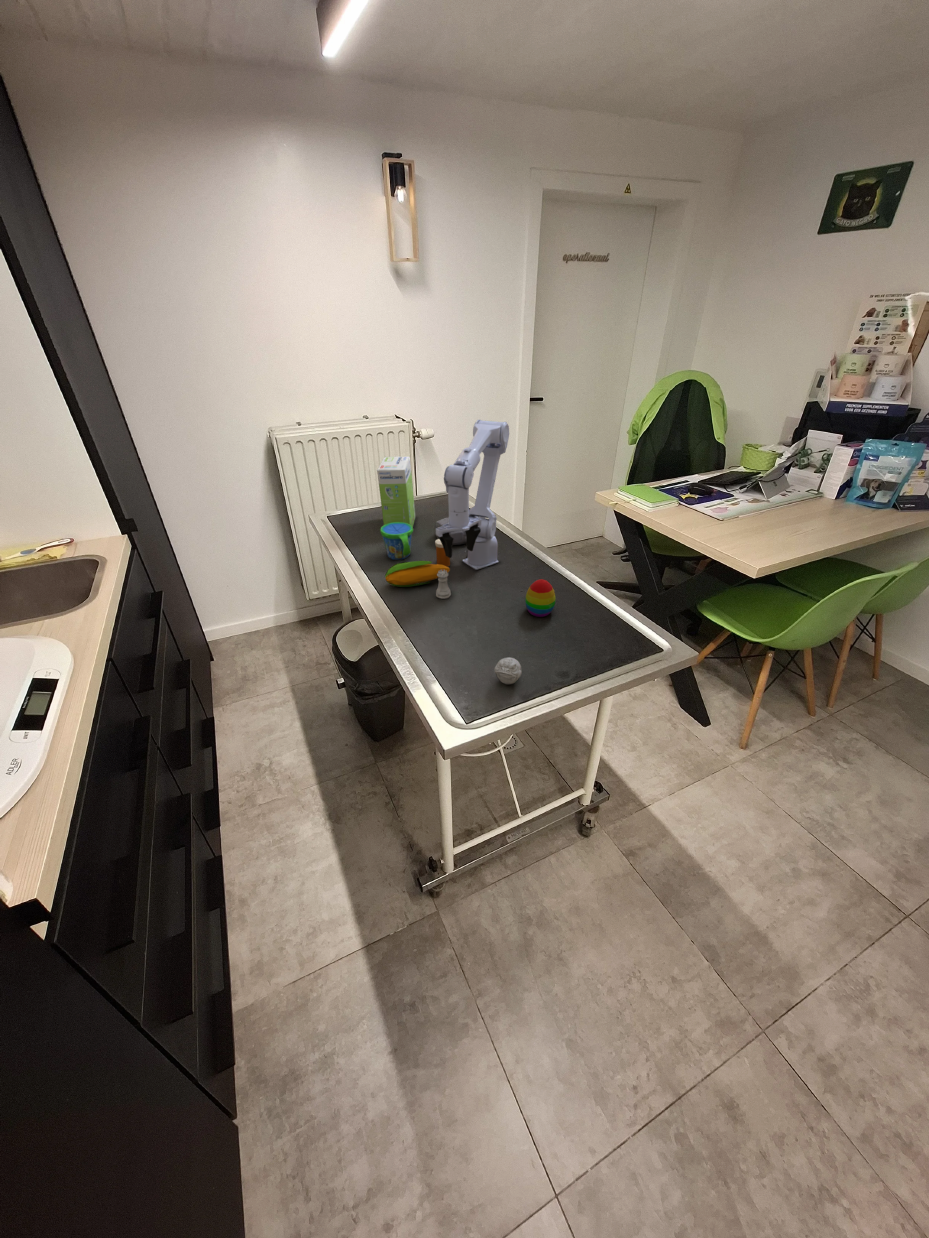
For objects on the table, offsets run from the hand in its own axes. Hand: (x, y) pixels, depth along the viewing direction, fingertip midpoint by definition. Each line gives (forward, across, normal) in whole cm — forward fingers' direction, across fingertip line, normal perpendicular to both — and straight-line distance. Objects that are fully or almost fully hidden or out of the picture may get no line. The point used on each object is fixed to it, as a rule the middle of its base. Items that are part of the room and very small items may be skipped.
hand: (459, 553), depth 143 cm
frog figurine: (+11, -17, -44) cm, 48 cm away
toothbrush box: (+10, +7, +51) cm, 53 cm away
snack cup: (+10, -6, +28) cm, 31 cm away
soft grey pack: (+10, +21, +28) cm, 37 cm away
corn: (+11, -10, +8) cm, 17 cm away
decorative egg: (+11, +9, -26) cm, 29 cm away
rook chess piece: (+11, -8, -3) cm, 13 cm away
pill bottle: (+10, +3, +14) cm, 18 cm away
